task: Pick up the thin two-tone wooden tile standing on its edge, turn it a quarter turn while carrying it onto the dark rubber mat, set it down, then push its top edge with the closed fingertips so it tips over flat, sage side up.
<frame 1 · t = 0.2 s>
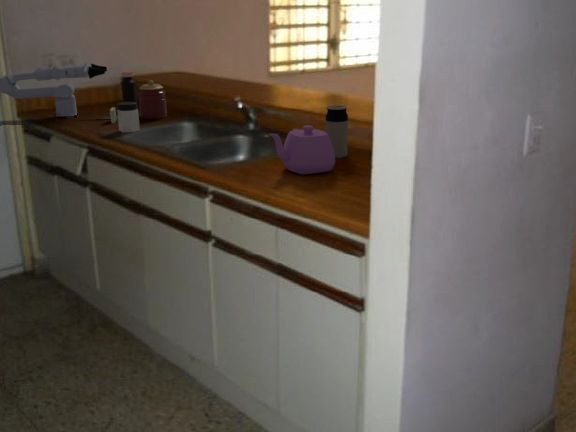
hand: (105, 70, 327), 22 cm above the worktop, tool horizontal, fingers open, 7 cm apart
mat: (101, 117, 328), on the worktop
jar: (129, 131, 297), on the worktop
travel mug: (336, 156, 247), on the worktop
tile: (113, 121, 317), on the worktop
teapot: (306, 171, 229), on the worktop
bottle: (130, 113, 339), on the worktop
canister: (153, 117, 327), on the worktop
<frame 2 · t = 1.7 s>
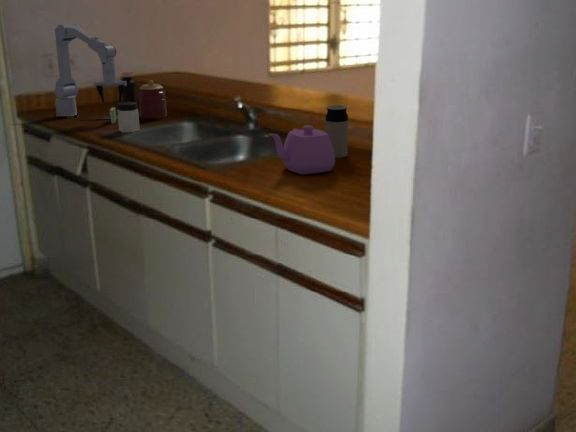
hand: (112, 101, 314), 9 cm above the worktop, tool pointing down, fingers open, 7 cm apart
nothing on the worktop moved.
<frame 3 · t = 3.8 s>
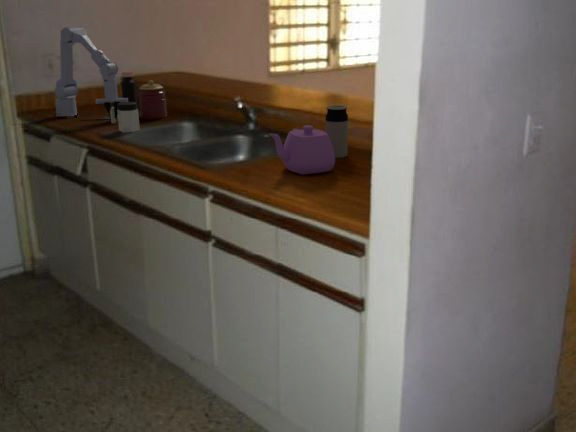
hand: (113, 118, 317), 1 cm above the worktop, tool pointing down, fingers closed on tile, 2 cm apart
tile: (113, 121, 317), on the worktop, touching gripper
everything else where it was.
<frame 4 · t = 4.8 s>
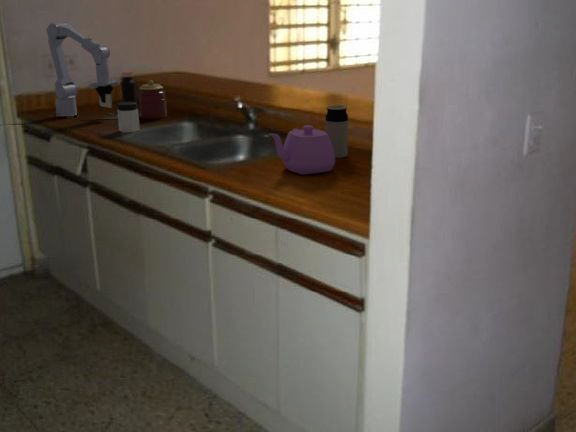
hand: (105, 102, 320), 8 cm above the worktop, tool pointing down, fingers closed on tile
tile: (106, 106, 320), point 6 cm above the worktop, touching gripper
everything else where it was.
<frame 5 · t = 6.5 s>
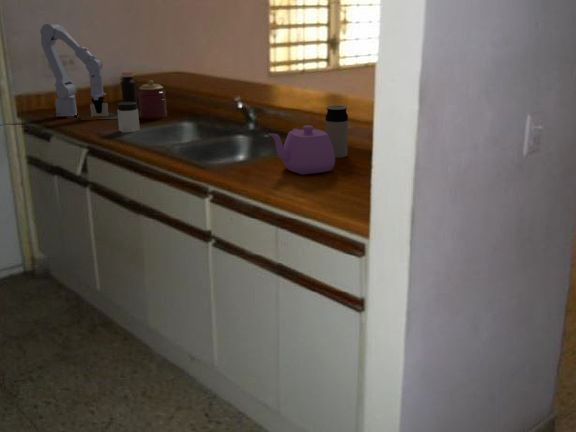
hand: (99, 112, 328), 2 cm above the worktop, tool pointing down, fingers closed on tile, 2 cm apart
tile: (100, 116, 329), resting on mat, touching gripper
everything else where it was.
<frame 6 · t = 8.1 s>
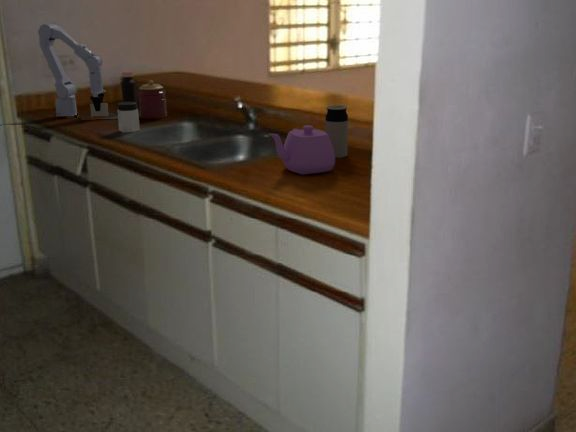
hand: (98, 109, 328), 4 cm above the worktop, tool pointing down, fingers open, 7 cm apart
tile: (100, 116, 329), resting on mat
everything else where it was.
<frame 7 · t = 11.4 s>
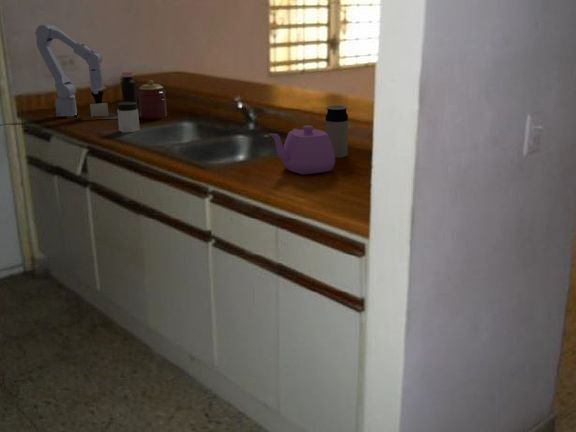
hand: (99, 106, 329), 5 cm above the worktop, tool pointing down, fingers closed
tile: (100, 115, 329), resting on mat, tilted 6°
everything else where it was.
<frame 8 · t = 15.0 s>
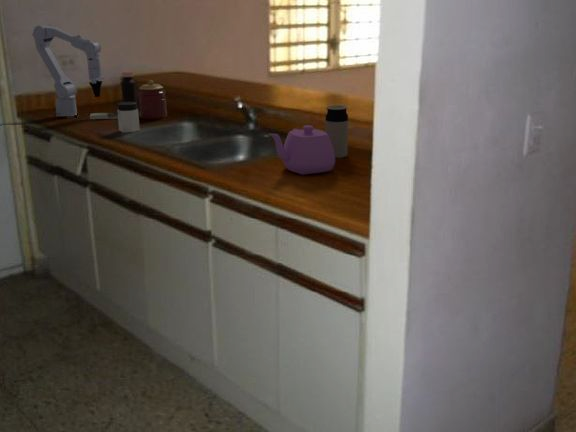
hand: (97, 96, 325), 10 cm above the worktop, tool pointing down, fingers closed
tile: (99, 114, 328), point 1 cm above the worktop, tilted 90°, touching mat
everything else where it was.
at the end: tile tilted 90°; tile inside the target area (0.8 cm from its centre), point 1.2 cm above the worktop; the gripper is holding nothing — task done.
